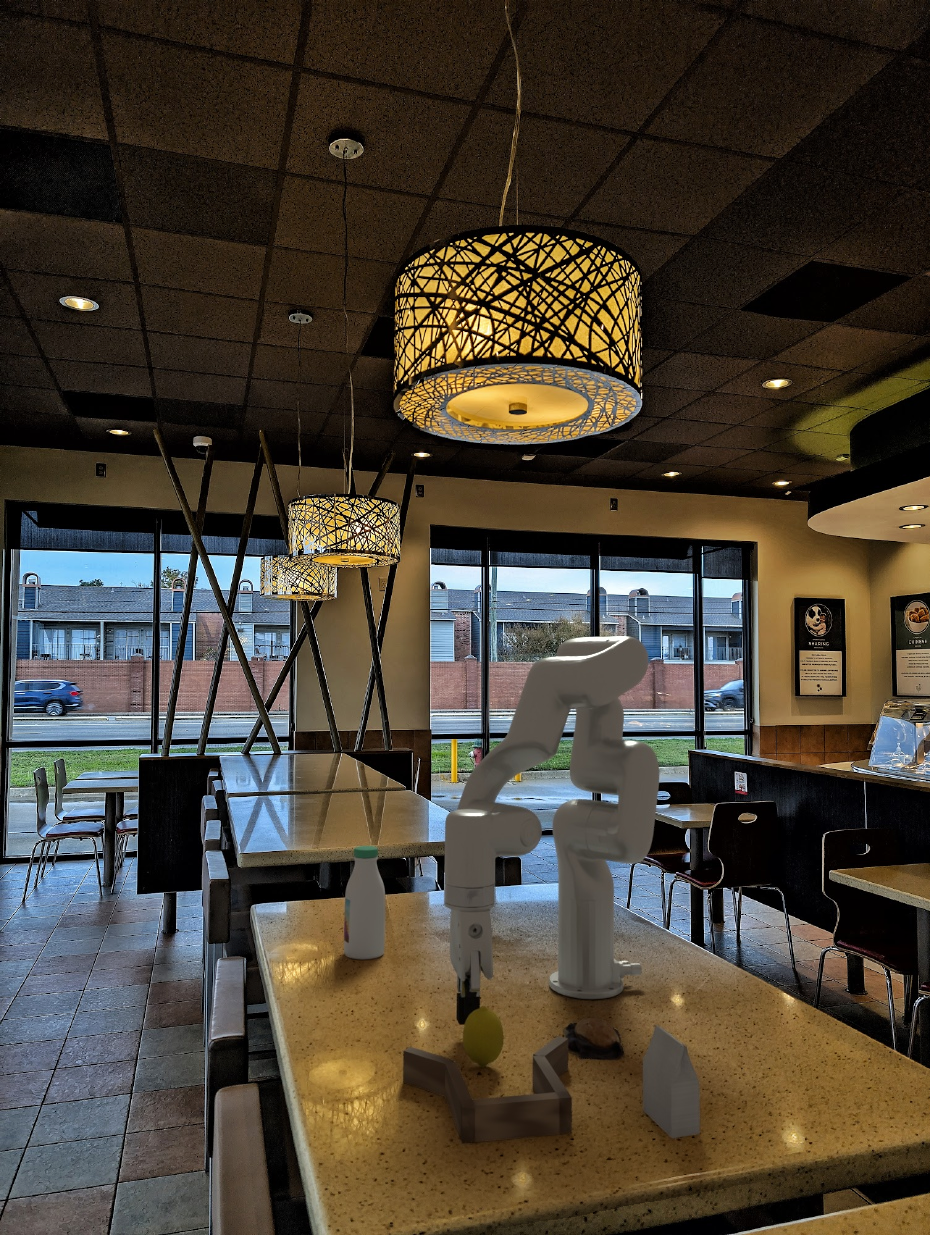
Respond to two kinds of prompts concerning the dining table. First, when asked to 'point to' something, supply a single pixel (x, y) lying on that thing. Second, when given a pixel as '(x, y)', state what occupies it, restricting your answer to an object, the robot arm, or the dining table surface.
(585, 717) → the robot arm
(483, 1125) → the corral
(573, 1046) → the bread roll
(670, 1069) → the grey block
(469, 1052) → the lemon
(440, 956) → the dining table surface
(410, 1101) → the dining table surface
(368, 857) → the milk bottle
